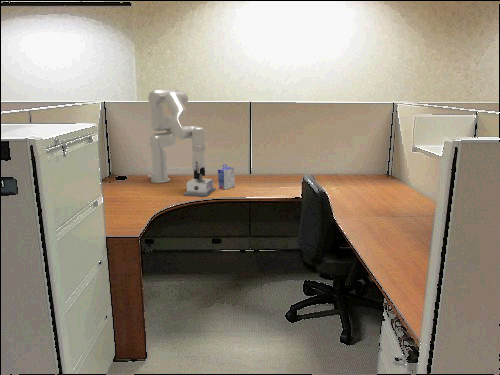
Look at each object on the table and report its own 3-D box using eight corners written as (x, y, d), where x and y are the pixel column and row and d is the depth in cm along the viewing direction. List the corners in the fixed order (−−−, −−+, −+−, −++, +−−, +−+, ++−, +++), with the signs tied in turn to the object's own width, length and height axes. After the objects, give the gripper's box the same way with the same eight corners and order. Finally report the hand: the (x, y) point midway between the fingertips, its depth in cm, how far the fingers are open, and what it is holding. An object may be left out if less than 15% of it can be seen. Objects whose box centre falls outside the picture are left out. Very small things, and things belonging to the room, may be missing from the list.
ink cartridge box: (228, 185, 278) (228, 163, 274) (235, 186, 274) (235, 164, 271) (217, 188, 270) (217, 165, 267) (224, 189, 267) (224, 166, 264)
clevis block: (183, 195, 254) (182, 183, 252) (194, 188, 271) (193, 176, 269) (206, 197, 251) (206, 184, 249) (216, 189, 268) (215, 178, 266)
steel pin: (196, 191, 260) (196, 174, 257) (198, 189, 262) (197, 173, 260) (201, 191, 259) (201, 174, 256) (203, 190, 262) (202, 173, 259)
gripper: (197, 146, 264) (198, 174, 268) (187, 150, 247) (188, 180, 252) (209, 146, 262) (210, 174, 266) (199, 151, 246) (200, 181, 250)
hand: (199, 177), depth 259 cm, fingers open, 9 cm apart
